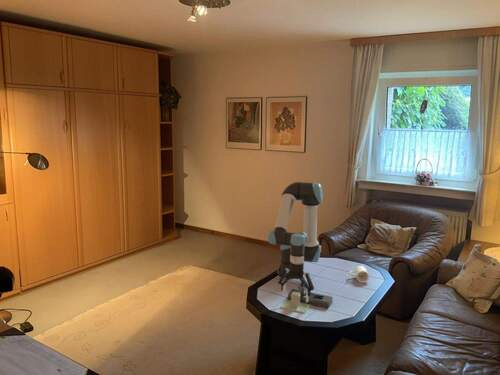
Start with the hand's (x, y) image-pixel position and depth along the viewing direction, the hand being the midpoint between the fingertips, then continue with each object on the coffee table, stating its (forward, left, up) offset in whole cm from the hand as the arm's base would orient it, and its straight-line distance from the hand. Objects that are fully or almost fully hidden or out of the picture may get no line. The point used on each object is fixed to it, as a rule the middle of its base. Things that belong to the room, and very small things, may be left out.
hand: (295, 298), depth 225 cm
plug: (0, 0, -5) cm, 5 cm away
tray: (0, 0, -5) cm, 5 cm away
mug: (+23, +58, -6) cm, 63 cm away
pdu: (+5, +11, -5) cm, 13 cm away
